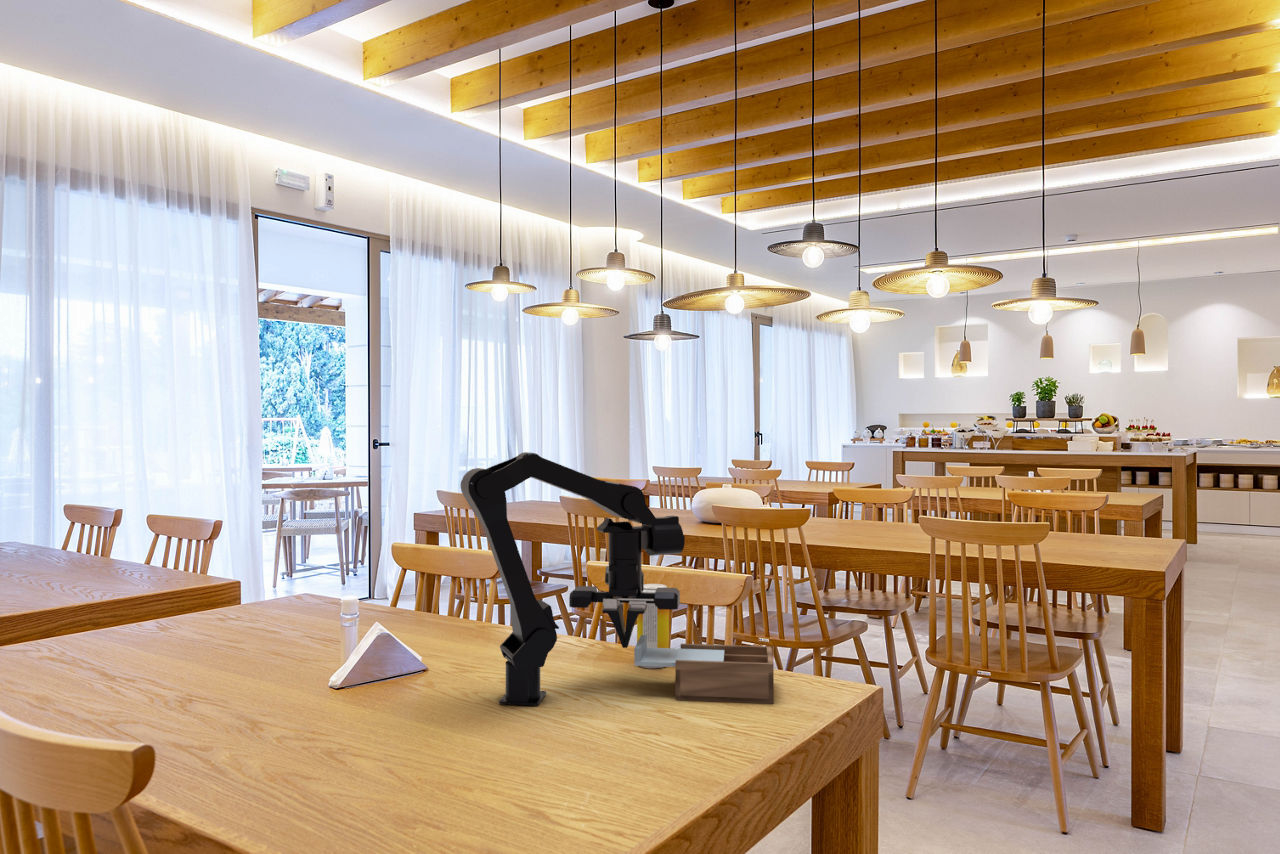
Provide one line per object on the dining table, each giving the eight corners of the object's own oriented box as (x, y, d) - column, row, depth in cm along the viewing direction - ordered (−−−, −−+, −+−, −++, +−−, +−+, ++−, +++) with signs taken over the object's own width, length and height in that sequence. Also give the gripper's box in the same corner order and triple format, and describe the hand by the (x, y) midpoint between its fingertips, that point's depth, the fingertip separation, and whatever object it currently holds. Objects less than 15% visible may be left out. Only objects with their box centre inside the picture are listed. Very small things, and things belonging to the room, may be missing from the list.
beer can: (669, 661, 164) (669, 583, 164) (667, 669, 158) (667, 589, 158) (638, 660, 164) (638, 583, 164) (635, 668, 158) (635, 588, 158)
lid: (723, 668, 140) (723, 651, 140) (634, 665, 142) (634, 648, 142) (724, 654, 149) (724, 637, 149) (641, 651, 151) (641, 635, 151)
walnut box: (773, 703, 137) (773, 664, 138) (675, 700, 139) (675, 661, 140) (771, 682, 149) (771, 646, 149) (680, 679, 151) (680, 643, 151)
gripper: (681, 551, 154) (682, 637, 154) (580, 550, 156) (581, 635, 156) (677, 560, 143) (677, 653, 142) (568, 559, 145) (568, 650, 145)
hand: (625, 647), depth 147 cm, fingers closed
